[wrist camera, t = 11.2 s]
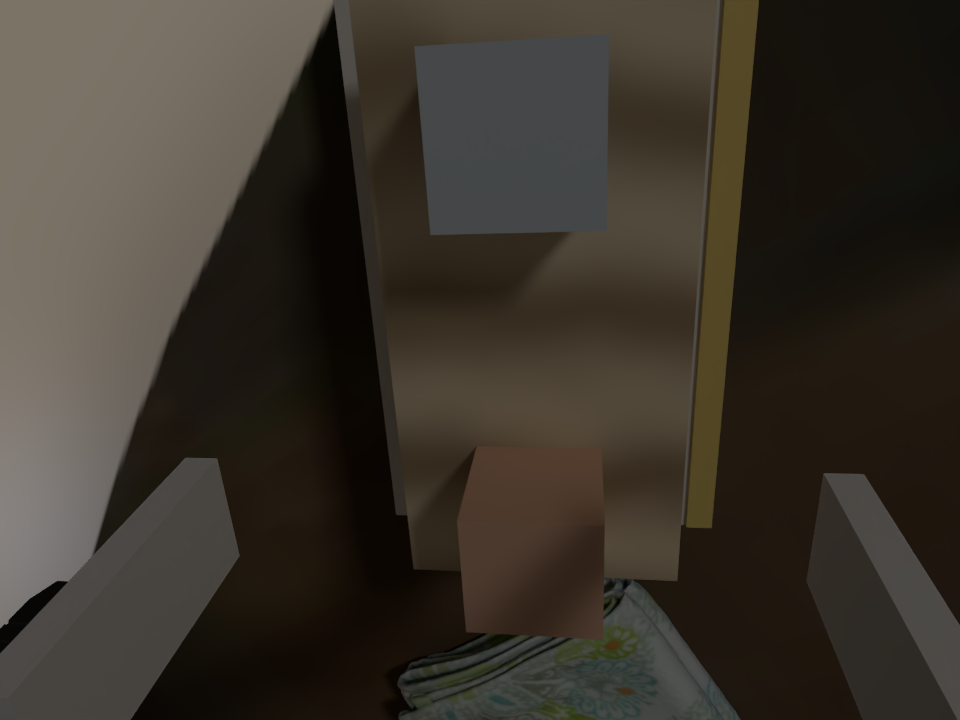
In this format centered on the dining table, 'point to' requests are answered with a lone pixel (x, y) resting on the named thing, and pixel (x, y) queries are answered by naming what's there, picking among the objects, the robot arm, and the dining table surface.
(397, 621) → the dining table surface
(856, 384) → the dining table surface
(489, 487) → the block
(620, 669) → the towel
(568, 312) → the board
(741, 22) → the dock
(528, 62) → the grey cube
